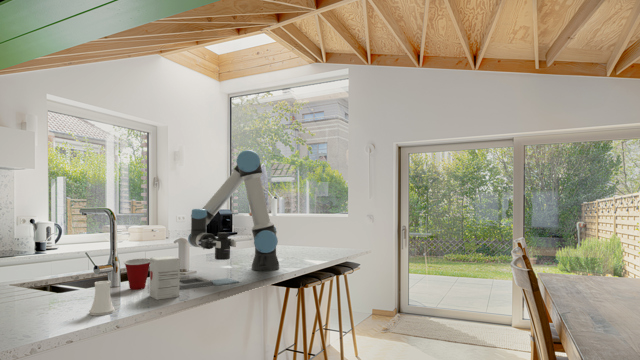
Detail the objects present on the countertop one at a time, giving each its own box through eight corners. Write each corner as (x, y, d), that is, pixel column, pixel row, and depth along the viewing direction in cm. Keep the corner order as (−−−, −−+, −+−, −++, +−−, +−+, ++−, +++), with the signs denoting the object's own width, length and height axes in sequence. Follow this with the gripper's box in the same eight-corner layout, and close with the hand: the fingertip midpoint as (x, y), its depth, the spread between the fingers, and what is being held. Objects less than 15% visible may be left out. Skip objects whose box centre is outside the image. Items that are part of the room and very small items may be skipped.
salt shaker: (101, 316, 131) (102, 284, 132) (83, 314, 133) (84, 283, 134) (119, 310, 138) (120, 280, 139) (102, 308, 140) (103, 279, 141)
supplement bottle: (228, 260, 184) (228, 233, 185) (212, 260, 184) (213, 233, 185) (231, 258, 191) (231, 232, 192) (217, 258, 191) (217, 232, 192)
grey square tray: (199, 280, 192) (199, 277, 192) (212, 284, 181) (212, 281, 181) (169, 284, 183) (169, 280, 183) (181, 289, 172) (181, 285, 173)
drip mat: (228, 279, 195) (228, 278, 195) (239, 282, 186) (239, 281, 186) (206, 282, 188) (206, 280, 188) (216, 285, 179) (216, 284, 179)
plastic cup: (118, 291, 168) (119, 262, 169) (129, 286, 179) (130, 258, 180) (145, 291, 169) (145, 261, 169) (154, 286, 179) (155, 258, 180)
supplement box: (148, 296, 160) (149, 257, 161) (171, 292, 166) (172, 255, 166) (155, 300, 153) (156, 259, 154) (179, 296, 159) (180, 257, 159)
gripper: (224, 247, 208) (247, 251, 190) (186, 249, 196) (206, 254, 178) (225, 232, 208) (247, 235, 191) (187, 234, 196) (207, 237, 178)
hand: (227, 244), depth 184 cm, fingers closed on supplement bottle, 7 cm apart
